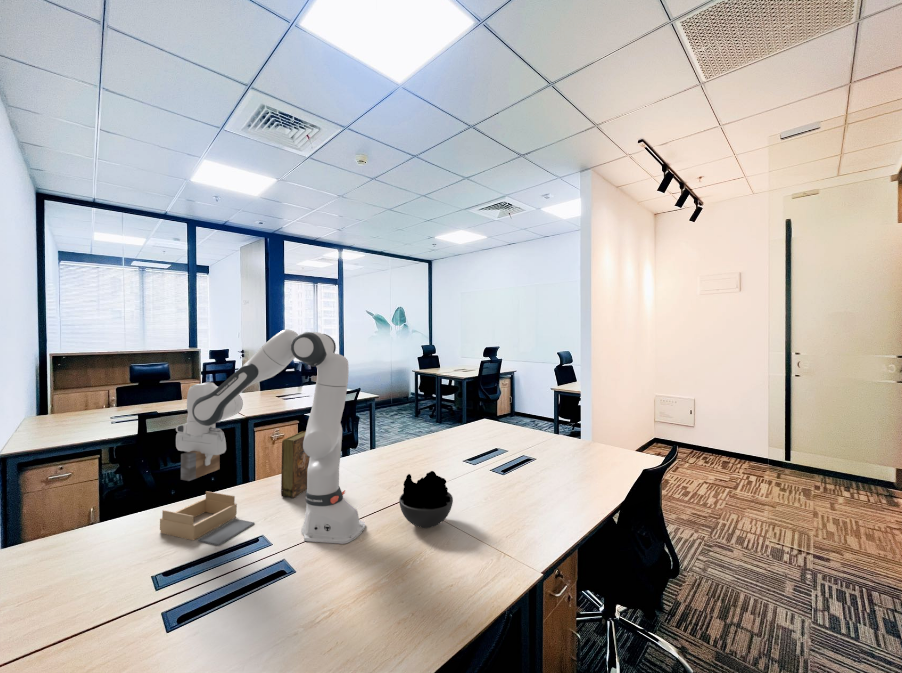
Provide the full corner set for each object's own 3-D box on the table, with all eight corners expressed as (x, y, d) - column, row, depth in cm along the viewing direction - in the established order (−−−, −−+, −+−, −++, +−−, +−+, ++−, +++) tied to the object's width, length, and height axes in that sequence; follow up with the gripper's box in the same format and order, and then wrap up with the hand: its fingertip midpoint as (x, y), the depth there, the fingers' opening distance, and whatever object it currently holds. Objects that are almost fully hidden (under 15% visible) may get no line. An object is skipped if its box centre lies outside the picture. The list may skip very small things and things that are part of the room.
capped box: (219, 469, 141) (219, 445, 141) (189, 480, 130) (189, 455, 130) (211, 468, 142) (211, 444, 142) (180, 479, 131) (181, 454, 131)
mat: (254, 524, 137) (254, 522, 137) (218, 545, 123) (218, 544, 123) (235, 520, 140) (235, 518, 140) (197, 541, 125) (197, 539, 125)
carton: (236, 517, 142) (236, 496, 142) (194, 540, 126) (194, 517, 126) (204, 510, 147) (205, 490, 147) (159, 532, 130) (160, 510, 130)
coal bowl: (460, 518, 144) (461, 470, 144) (437, 544, 125) (438, 489, 125) (416, 507, 152) (416, 462, 152) (388, 530, 134) (389, 479, 134)
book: (303, 483, 175) (304, 430, 175) (314, 484, 174) (314, 431, 174) (281, 498, 159) (281, 440, 159) (292, 499, 158) (293, 440, 158)
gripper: (230, 426, 136) (230, 464, 136) (188, 422, 142) (188, 458, 142) (215, 431, 130) (215, 470, 130) (172, 426, 136) (172, 464, 136)
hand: (201, 464), depth 136 cm, fingers closed on capped box, 4 cm apart
